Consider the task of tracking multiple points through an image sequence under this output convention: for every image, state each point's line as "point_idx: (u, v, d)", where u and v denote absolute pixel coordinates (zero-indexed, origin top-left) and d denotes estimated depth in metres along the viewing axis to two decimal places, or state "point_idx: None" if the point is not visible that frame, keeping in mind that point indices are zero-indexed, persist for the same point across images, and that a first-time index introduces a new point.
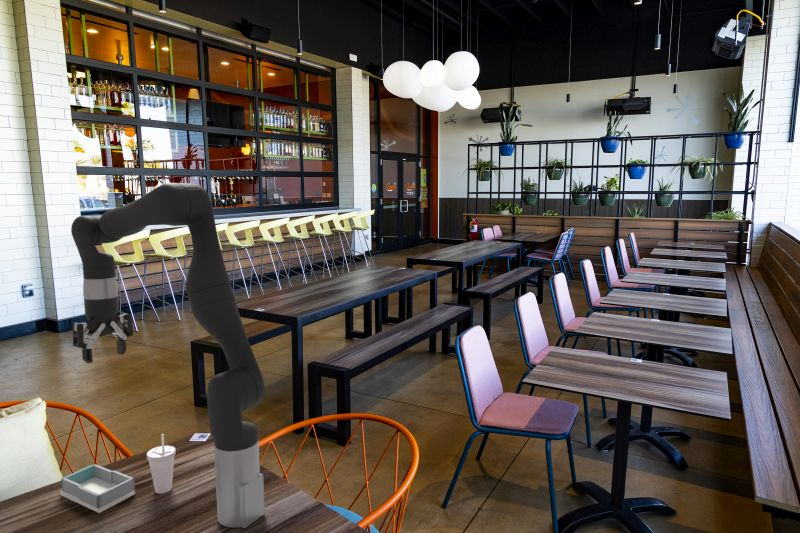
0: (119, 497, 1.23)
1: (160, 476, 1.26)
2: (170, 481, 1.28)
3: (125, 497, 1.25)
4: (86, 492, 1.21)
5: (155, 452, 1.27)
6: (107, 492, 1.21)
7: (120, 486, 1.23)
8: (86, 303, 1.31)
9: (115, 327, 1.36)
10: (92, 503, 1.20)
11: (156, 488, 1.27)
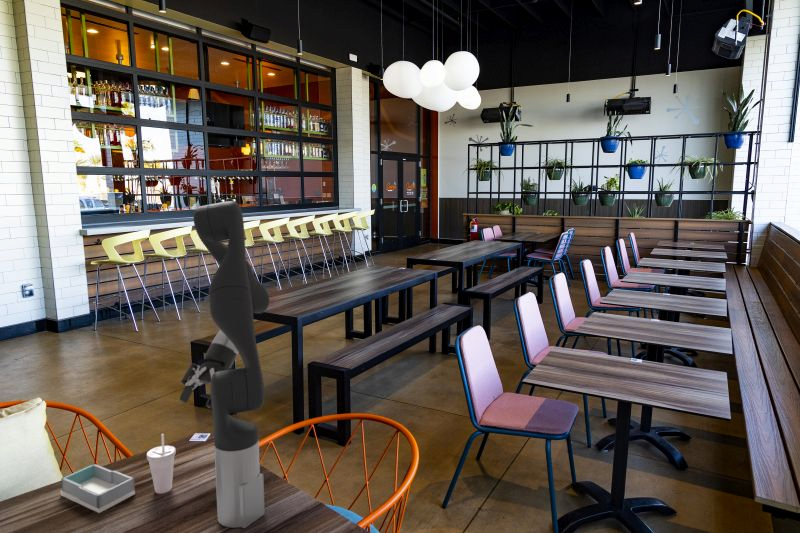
0: (119, 497, 1.23)
1: (160, 476, 1.26)
2: (170, 481, 1.28)
3: (125, 497, 1.25)
4: (86, 492, 1.21)
5: (155, 452, 1.27)
6: (107, 492, 1.21)
7: (120, 486, 1.23)
8: None
9: (212, 375, 1.39)
10: (92, 503, 1.20)
11: (156, 488, 1.27)
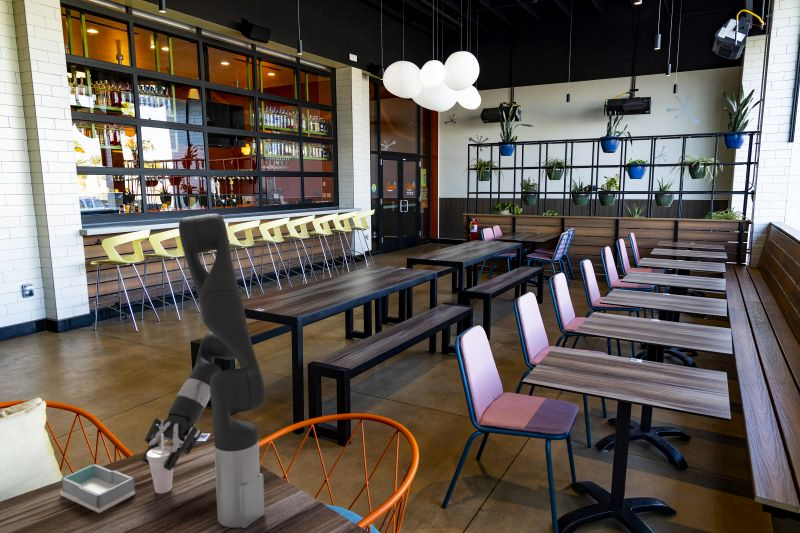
0: (119, 497, 1.23)
1: (160, 476, 1.26)
2: (170, 481, 1.28)
3: (125, 497, 1.25)
4: (86, 492, 1.21)
5: (155, 452, 1.27)
6: (107, 492, 1.21)
7: (120, 486, 1.23)
8: None
9: (175, 431, 1.29)
10: (92, 503, 1.20)
11: (156, 488, 1.27)
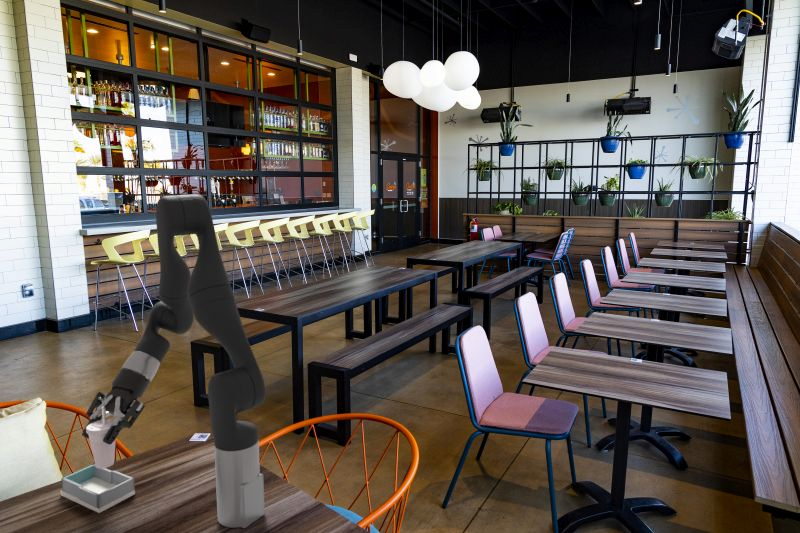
0: (119, 497, 1.23)
1: (100, 450, 1.21)
2: (111, 456, 1.23)
3: (125, 497, 1.25)
4: (86, 492, 1.21)
5: (95, 426, 1.22)
6: (107, 492, 1.21)
7: (120, 486, 1.23)
8: None
9: (117, 405, 1.24)
10: (92, 503, 1.20)
11: (96, 463, 1.22)
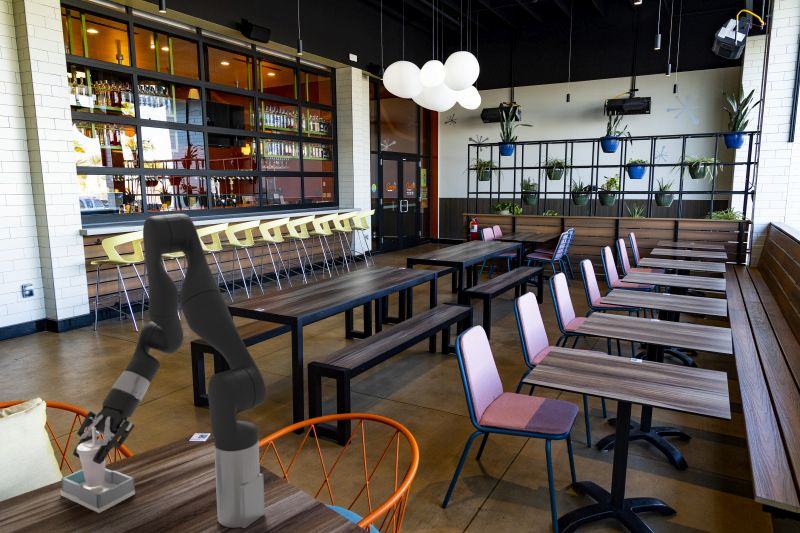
0: (119, 497, 1.23)
1: (90, 469, 1.24)
2: (102, 475, 1.26)
3: (125, 497, 1.25)
4: (86, 492, 1.21)
5: (86, 446, 1.25)
6: (107, 492, 1.21)
7: (120, 486, 1.23)
8: None
9: (106, 425, 1.27)
10: (92, 503, 1.20)
11: (87, 482, 1.25)
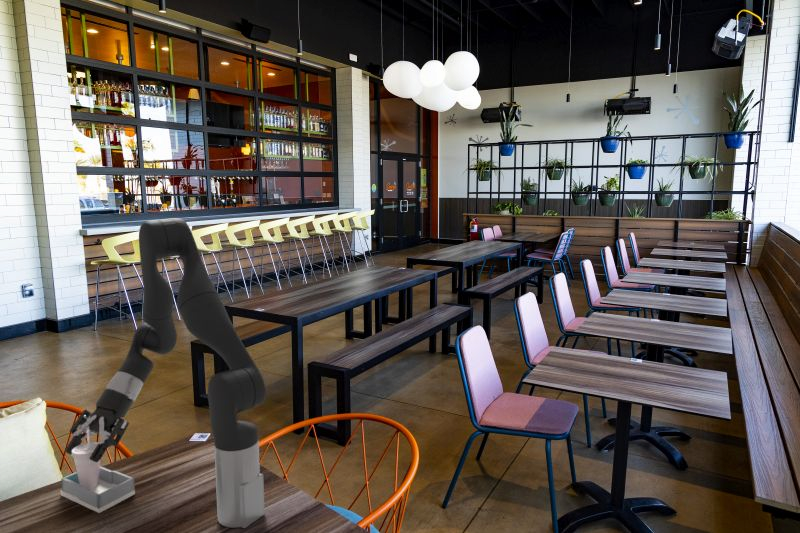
0: (119, 497, 1.23)
1: (84, 472, 1.25)
2: (96, 478, 1.28)
3: (125, 497, 1.25)
4: (86, 492, 1.21)
5: (80, 449, 1.26)
6: (107, 492, 1.21)
7: (120, 486, 1.23)
8: None
9: (101, 424, 1.28)
10: (92, 503, 1.20)
11: None
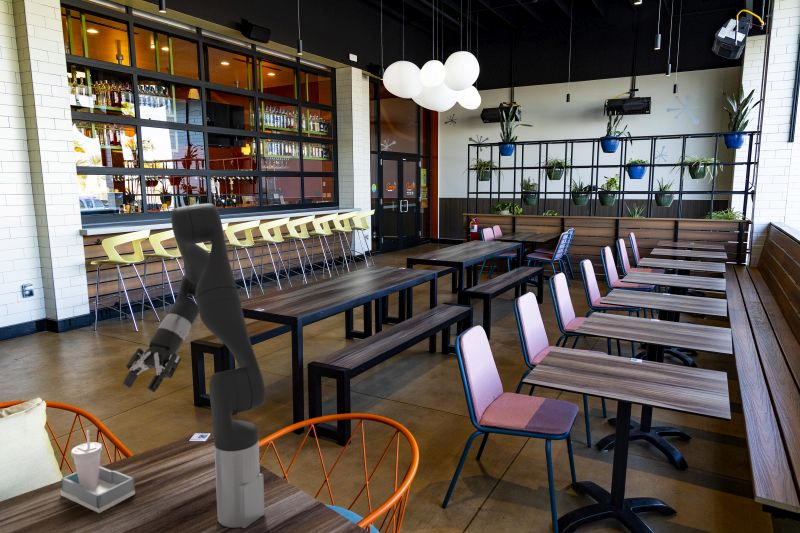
0: (119, 497, 1.23)
1: (84, 472, 1.25)
2: (96, 478, 1.28)
3: (125, 497, 1.25)
4: (86, 492, 1.21)
5: (80, 449, 1.26)
6: (107, 492, 1.21)
7: (120, 486, 1.23)
8: None
9: (156, 359, 1.39)
10: (92, 503, 1.20)
11: None
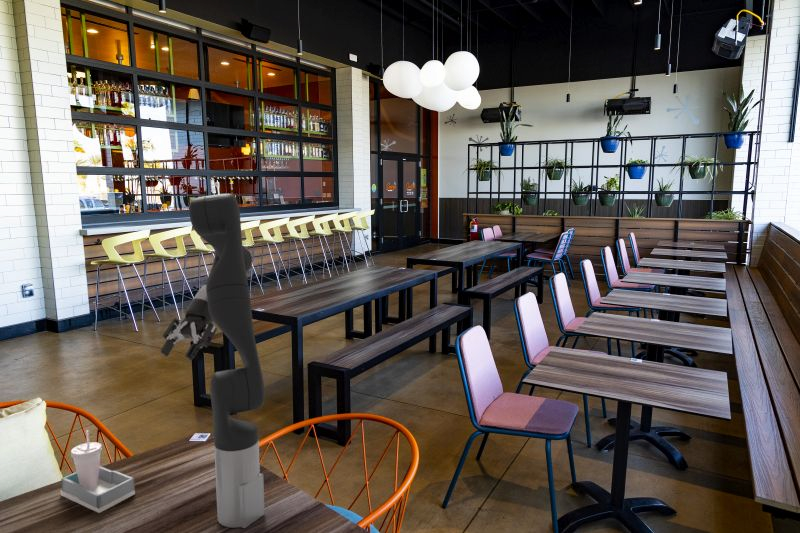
0: (119, 497, 1.23)
1: (84, 472, 1.25)
2: (96, 478, 1.28)
3: (125, 497, 1.25)
4: (86, 492, 1.21)
5: (80, 449, 1.26)
6: (107, 492, 1.21)
7: (120, 486, 1.23)
8: None
9: (192, 328, 1.41)
10: (92, 503, 1.20)
11: None
